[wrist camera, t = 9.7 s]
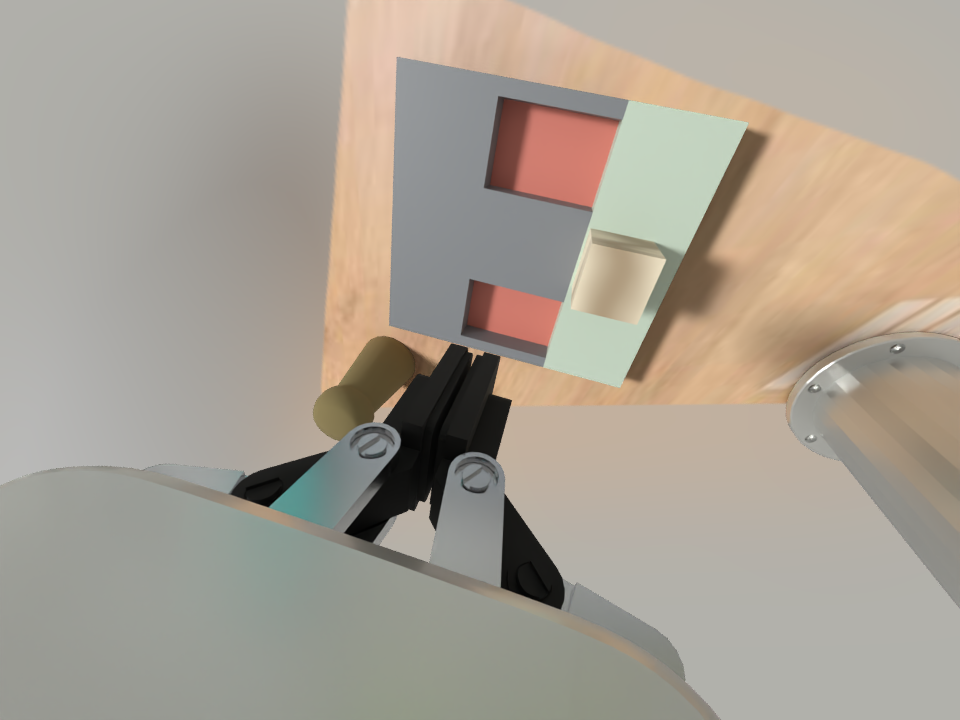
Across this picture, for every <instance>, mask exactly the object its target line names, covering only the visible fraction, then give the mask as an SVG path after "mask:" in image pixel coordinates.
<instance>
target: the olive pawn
mask: <svg viewBox="0 0 960 720" xmlns="http://www.w3.org/2000/svg"><path fill="white" fill-rule="evenodd" d="M414 371H415V362H414V358H413V356H412V354H411V352H410V351H409V349H408V348H407V347H406V346H405V345H403V344H402V343H401V342H399V341H397V340H396V339H394V338H390V337H386V336H382V337H376V338H373V339H371V340H370V341H369V342H368V343H367V344H366V346H365V347H364V349H363V350H362V352H361V353H360V354H359V356H358V357H357V359H356V360H355V362H354V363H353V365H352V366H351V367H350V369H349V370H348V372H347V373H346V375H345V376H344V378H343V379H342V380H341V382H340V383H339V385H338V386H334V387H331V388H329V389H327V390H326V391H325V392H324V393H322V394H321V395H320V397H319V398H318V399H317V400H316V402H315V405H314V409H313V417H314V421H315V423H316V424H317V426H318V427H319V429H320V430H321V431H322V432H323V433H325V434H326V435H327V436H329V437H331V438H333V439H335V440H338V441H340V440H341V439H342V438H343V437H344V436H345V435H346V434H348V433H349V432H350V431H351V430H352V429H354V428H355V427H357V426H360V425H362V424H365V423H372V422H373V419H374V413H375V412H376V411H377V410H378V409H379V408H380V407H381V406H382V405H383V404H384V403H385V402H386V401H387V400H388V399H389V398H390V397H391V396H392V395H393V394H394V393H395V392H396V391H397V390H398V389H399V388H400V387H402V386H403V385H404V384H405V383H406V382H407V381H408V380H409V379H410V378H411V377H412V375H413V373H414Z"/></svg>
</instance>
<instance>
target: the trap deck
mask: <svg viewBox="0 0 960 720" xmlns="http://www.w3.org/2000/svg"><path fill="white" fill-rule="evenodd" d="M748 124H749V123H748V122H743V121H738V120H732V119H727V118H722V117H716V116H711V115H705V114H700V113H695V112H689V111H684V110H679V109H673V108H668V107H663V106H657V105H652V104H647V103H641V102H636V101H631V100H625V99H620V98H615V97H609V96H604V95H598V94H593V93H588V92H582V91H577V90H572V89H566V88H561V87H556V86H550V85H545V84H540V83H534V82H529V81H524V80H518V79H513V78H507V77H502V76H497V75H491V74H486V73H481V72H475V71H470V70H465V69H459V68H454V67H449V66H443V65H438V64H433V63H427V62H422V61H417V60H411V59H406V58H400V57H397V71H396V106H395V141H394V176H393V211H392V246H391V282H390V317H389V326H393V327H397V328H400V329H404V330H408V331H411V332H415V333H419V334H423V335H426V336H430V337H434V338H437V339H441V340H445V341H448V342H452V343H456V344H460V345H463V346H467V347H471V348H474V349H478V350H482V351H485V352H489V353H493V354H496V355H500V356H504V357H508V358H511V359H515V360H519V361H522V362H526V363H530V364H533V365H537V366H541V367H545V368H548V369H552V370H556V371H559V372H563V373H567V374H570V375H574V376H578V377H581V378H585V379H589V380H593V381H596V382H600V383H604V384H607V385H611V386H615V387H618V388H620V387H621V385H622V383H623V380H624V378H625V376H626V374H627V372H628V370H629V368H630V366H631V364H632V362H633V360H634V358H635V356H636V354H637V352H638V350H639V348H640V346H641V344H642V341H643V339H644V337H645V335H646V333H647V331H648V329H649V327H650V325H651V323H652V321H653V319H654V317H655V315H656V313H657V311H658V309H659V307H660V304H661V302H662V300H663V298H664V296H665V294H666V292H667V290H668V288H669V286H670V284H671V282H672V280H673V278H674V276H675V274H676V272H677V270H678V268H679V265H680V263H681V261H682V259H683V257H684V255H685V253H686V251H687V249H688V247H689V245H690V243H691V241H692V239H693V237H694V235H695V233H696V231H697V229H698V226H699V224H700V222H701V220H702V218H703V216H704V214H705V212H706V210H707V208H708V206H709V204H710V202H711V200H712V198H713V196H714V194H715V192H716V190H717V187H718V185H719V183H720V181H721V179H722V177H723V175H724V173H725V171H726V169H727V167H728V165H729V163H730V161H731V159H732V157H733V155H734V153H735V151H736V148H737V146H738V144H739V142H740V140H741V138H742V136H743V134H744V132H745V130H746V128H747V126H748ZM590 228H592V229H597V230H602V231H606V232H611V233H616V234H620V235H625V236H629V237H634V238H639V239H643V240H648V241H653V242H654V243H655V244H656V246H657V247H658V248H659V250H660V251H661V253H662V254H663V256H664V257H665V258H666V262H665V264H664V266H663V269H662V271H661V273H660V275H659V278H658V280H657V282H656V284H655V286H654V289H653V291H652V293H651V295H650V297H649V300H648V302H647V304H646V306H645V308H644V311H643V313H642V315H641V317H640V320H639V322H638V324H637V325H635V324H631V323H626V322H622V321H618V320H614V319H610V318H606V317H602V316H598V315H593V314H589V313H585V312H581V311H577V310H573V309H571V296H572V285H573V282H574V279H575V275H576V272H577V269H578V266H579V263H580V260H581V257H582V253H583V250H584V247H585V244H586V241H587V238H588V234H589V231H590Z"/></svg>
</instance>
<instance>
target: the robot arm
mask: <svg viewBox="0 0 960 720" xmlns="http://www.w3.org/2000/svg"><path fill="white" fill-rule="evenodd" d="M472 357H473V353H469V352H468V348H467V347H464V346H460V345H456V344H451V345H450V346H449V348H448V349H447V351H446V353H445V354H444V356H443V357H442V359H441V360H440V362H439V363H438V365H437V367H436V368H435V370H434V371H433V373H432V374H431V376H430V377H428V376H424V375H421V374H418V375H417V376H416V377H415V378H414V380H413V381H412V382H411V384H410V385H409V387H408V388H407V390H406V391H405V392H404V394H403V395H402V397H401V398H400V400H399V401H398V402H397V404H396V405H395V407H394V408H393V409H392V411H391V412H390V414H389V415H388V417H387V418H386V419H385V421H384V422H383V423H375V422H372V423H365V424H362V425H360V426H357V427H355V428H354V429H352V430H351V431H350V432H349V433H348V434H346V435H345V436H344V437H343V438H342V439H341V440H340V441H339V442H338V443H337V444H336V445H335V446H334V447H333V448H332V449H331V450H329V451H327V452H323V453H319V454H316V455H313V456H309V457H305V458H302V459H298V460H295V461H291V462H288V463H284V464H281V465H277V466H274V467H270V468H267V469H264V470H260V471H258V472H256V473H253V474H251V475H249V476H247V475H245V473H244V471H238V470H228V469H218V468H208V467H196V466H187V465H177V464H159V465H155V466H152V467H148V468H146V469H144V470H139V469H134V468H125V467H112V466H81V467H66V468H56V469H50V470H44V471H40V472H36V473H32V474H29V475H25V476H22V477H20V478H17V479H15V480H12V481H10V482H7V483H5V484H3V485H1V486H0V720H721V719H720V718H719V717H718V716H717V715H716V713H715V712H714V711H713V710H712V708H711V707H710V706H709V705H708V704H707V703H706V702H705V701H704V700H703V699H702V698H701V697H700V696H699V695H698V694H697V693H696V692H695V691H694V690H693V689H692V688H691V686H689V685H688V684H687V683H686V682H685V674H684V667H683V664H682V661H681V659H680V657H679V655H678V652H677V650H676V649H675V648H674V646H673V645H672V644H671V642H670V641H669V640H668V638H666V637H665V636H664V635H663V634H661V633H660V632H659V631H658V630H656V629H655V628H653V627H651V626H650V625H648V624H646V623H645V622H643V621H641V620H640V619H638V618H636V617H635V616H633V615H631V614H630V613H628V612H626V611H624V610H623V609H621V608H619V607H618V606H616V605H614V604H613V603H611V602H609V601H608V600H606V599H604V598H603V597H601V596H599V595H597V594H596V593H594V592H592V591H591V590H589V589H587V588H586V587H584V586H582V585H581V584H579V583H576V585H575V586H574V585H572V584H571V583H569V582H567V581H565V580H564V579H562V577H561V575H560V573H559V571H558V569H557V568H556V566H555V565H554V563H553V562H552V560H551V559H550V557H549V556H548V555H547V553H546V552H545V550H544V549H543V548H542V546H541V545H540V544H539V542H538V541H537V539H536V538H535V536H534V535H533V534H532V532H531V531H530V529H529V528H528V526H527V525H526V523H525V522H524V520H523V519H522V518H521V516H520V515H519V513H518V512H517V511H516V509H515V508H514V506H513V505H512V504H511V502H510V501H509V499H508V498H507V496H506V495H505V493H504V491H505V476H504V471H503V469H502V467H501V465H500V464H499V463H498V462H497V461H496V457H497V454H498V450H499V446H500V443H501V439H502V435H503V432H504V428H505V424H506V420H507V417H508V413H509V409H510V406H511V402H512V400H510V399H506V398H502V397H499V396H495V395H492V392H493V388H494V384H495V379H496V375H497V371H498V366H499V362H500V356H497V355H493V354H490V353H486V352H484V354H483V356H481V355H477V356H476V358H475V360H474V362H473V364H472V366H471V363H472ZM786 418H787V422H788V425H789V427H790V429H791V430H792V432H793V433H794V435H795V436H796V437H797V439H798V440H799V441H800V442H801V443H802V444H803V445H804V446H806V447H807V448H808V449H810V450H811V451H813V452H815V453H817V454H819V455H822V456H824V457H827V458H831V459H834V460H838V461H842V462H843V464H844V465H845V466H846V467H847V469H848V470H849V471H850V472H851V474H852V475H853V476H854V477H855V479H856V480H857V481H858V482H859V484H860V485H861V486H862V487H863V489H864V490H865V491H866V492H867V494H868V495H869V496H870V497H871V499H872V500H873V501H874V502H875V504H876V505H877V506H878V507H879V509H880V510H881V511H882V512H883V513H884V515H885V516H886V517H887V519H888V520H889V521H890V522H891V524H892V525H893V526H894V527H895V529H896V530H897V531H898V532H899V534H900V535H901V536H902V537H903V539H904V540H905V541H906V542H907V544H908V545H909V546H910V547H911V549H912V550H913V551H914V552H915V554H916V555H917V556H918V557H919V559H920V560H921V561H922V562H923V564H924V565H925V566H926V567H927V569H928V570H929V571H930V572H931V574H932V575H933V576H934V577H935V579H936V580H937V581H938V582H939V584H940V585H941V586H942V587H943V589H944V590H945V591H946V592H947V593H948V595H949V596H950V597H951V599H952V600H953V601H954V602H955V603H956V605H957V606H958V607H959V608H960V339H958V338H955V337H951V336H947V335H943V334H939V333H928V332H905V333H894V334H888V335H883V336H878V337H873V338H870V339H867V340H863V341H860V342H857V343H854V344H852V345H849V346H847V347H845V348H843V349H840V350H838V351H836V352H834V353H832V354H831V355H829V356H827V357H826V358H824V359H822V360H821V361H819V362H818V363H817V364H815V365H814V366H813V367H812V368H810V369H809V370H808V371H807V372H806V373H805V374H804V375H803V376H802V377H801V378H800V379H799V380H798V382H797V383H796V384H795V386H794V388H793V389H792V391H791V393H790V394H789V397H788V401H787V404H786ZM431 488H432V490H431ZM430 490H431V498H430V504H431V508H430V516H429V519H430V521H431V523H432V525H433V527H434V529H435V531H436V533H435V538H434V543H433V548H432V552H431V557H430V562H429V563H428V562H425V561H422V560H419V559H417V558H414V557H411V556H407V555H405V554H402V553H399V552H396V551H393V550H391V549H388V548H385V547H382V546H379V545H380V543H381V542H382V540H383V539H384V537H385V536H386V534H387V533H388V532H389V530H390V529H391V527H392V526H393V524H394V522H395V520H396V517H397V515H399V514H402V513H404V512H407V511H408V509H410V510H413V511H414V510H415V509H416V507H417V504H418V502H419V501H422V502H425V501H426V499H427V497H428V495H429V493H430Z"/></svg>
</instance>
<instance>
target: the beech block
mask: <svg viewBox="0 0 960 720" xmlns="http://www.w3.org/2000/svg"><path fill="white" fill-rule="evenodd" d="M665 262H666V258H665V257H664V256H663V254H662V253H661V251H660V250H659V248H658V247H657V246H656V244H655V243H654V242H653V241H648V240H643V239H639V238H634V237H629V236H625V235H620V234H616V233H611V232H606V231H602V230H597V229H592V228H590V231H589V234H588V238H587V241H586V244H585V247H584V250H583V253H582V257H581V260H580V263H579V266H578V269H577V272H576V275H575V279H574V282H573V285H572V296H571V309H573V310H577V311H581V312H585V313H589V314H593V315H598V316H602V317H606V318H610V319H614V320H618V321H622V322H626V323H631V324H635V325H637V324H638V322H639V320H640V317H641V315H642V313H643V311H644V308H645V306H646V304H647V302H648V300H649V297H650V295H651V293H652V291H653V289H654V286H655V284H656V282H657V280H658V278H659V275H660V273H661V271H662V269H663V266H664V264H665Z"/></svg>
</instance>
